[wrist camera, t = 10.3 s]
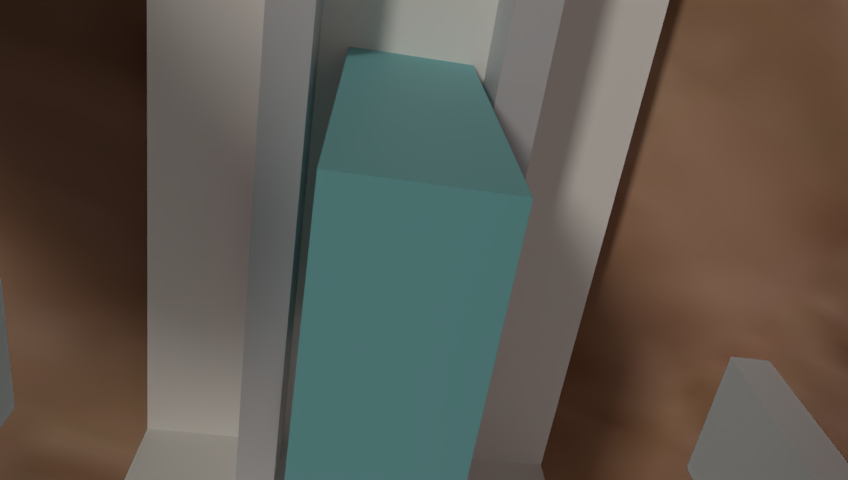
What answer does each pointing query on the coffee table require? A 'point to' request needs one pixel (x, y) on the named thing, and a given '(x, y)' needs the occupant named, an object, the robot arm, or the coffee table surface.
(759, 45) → the coffee table surface
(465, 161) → the teal sliding block
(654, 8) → the track
